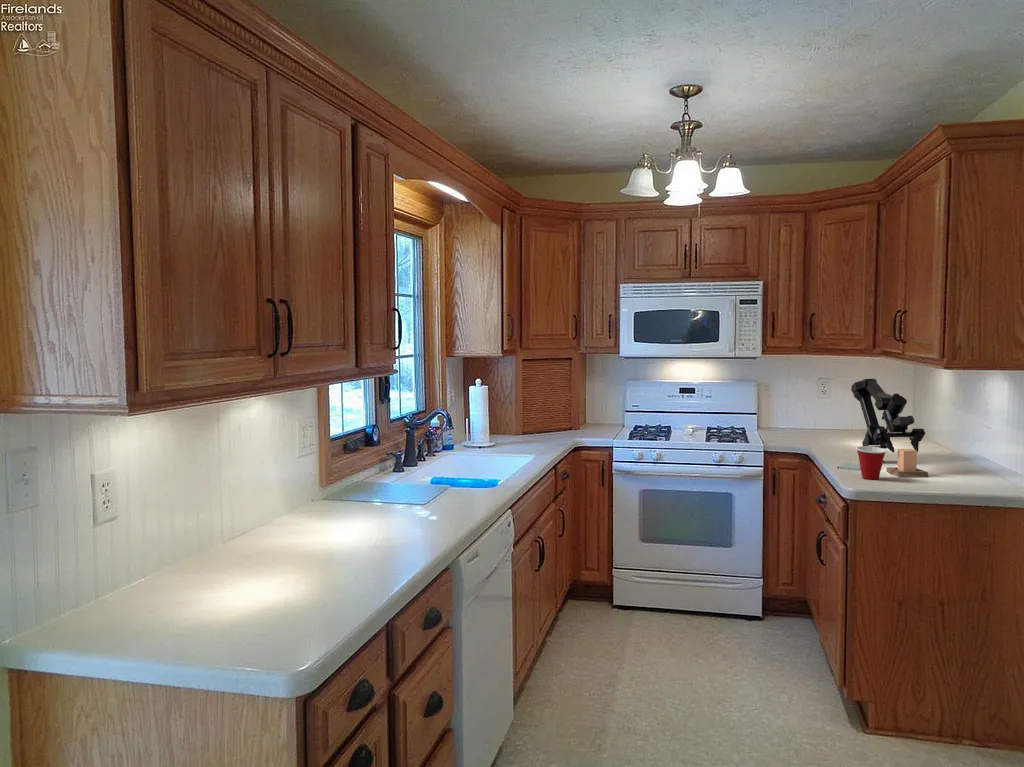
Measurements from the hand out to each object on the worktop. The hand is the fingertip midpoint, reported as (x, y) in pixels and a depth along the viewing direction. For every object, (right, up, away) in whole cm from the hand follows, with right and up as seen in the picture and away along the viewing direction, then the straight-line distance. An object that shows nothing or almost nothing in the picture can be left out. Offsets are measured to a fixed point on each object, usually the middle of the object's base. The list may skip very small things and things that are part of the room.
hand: (905, 451), depth 296 cm
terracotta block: (0, -9, -1) cm, 9 cm away
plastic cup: (-18, -10, -8) cm, 22 cm away
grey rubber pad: (-13, -8, +16) cm, 22 cm away
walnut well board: (0, -9, -1) cm, 9 cm away
